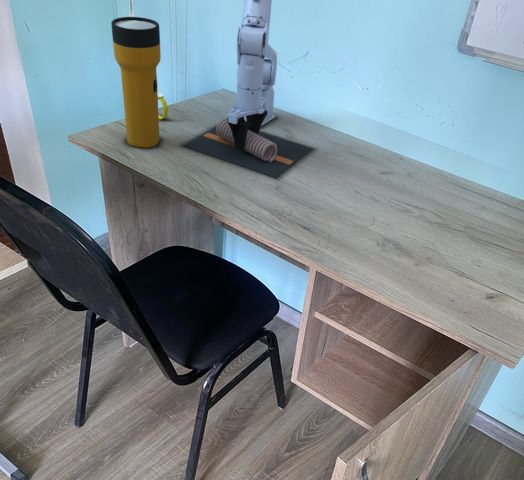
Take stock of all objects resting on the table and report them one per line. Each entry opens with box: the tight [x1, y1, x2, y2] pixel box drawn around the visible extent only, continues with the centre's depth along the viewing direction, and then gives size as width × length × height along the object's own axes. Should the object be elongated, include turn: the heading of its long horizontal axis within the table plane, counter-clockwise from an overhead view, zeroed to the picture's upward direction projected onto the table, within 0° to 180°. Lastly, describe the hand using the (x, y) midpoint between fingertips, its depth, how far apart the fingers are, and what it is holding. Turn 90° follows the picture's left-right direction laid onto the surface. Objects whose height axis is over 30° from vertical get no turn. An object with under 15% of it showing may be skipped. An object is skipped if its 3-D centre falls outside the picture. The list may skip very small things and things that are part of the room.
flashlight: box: [111, 16, 162, 149], centre depth 122 cm, size 10×26×10 cm
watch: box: [158, 92, 169, 121], centre depth 140 cm, size 6×3×6 cm, turn 52°
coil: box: [216, 118, 277, 163], centre depth 131 cm, size 5×5×18 cm
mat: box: [182, 126, 314, 179], centre depth 134 cm, size 20×26×1 cm
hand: (245, 144), depth 131 cm, fingers closed on coil, 5 cm apart
